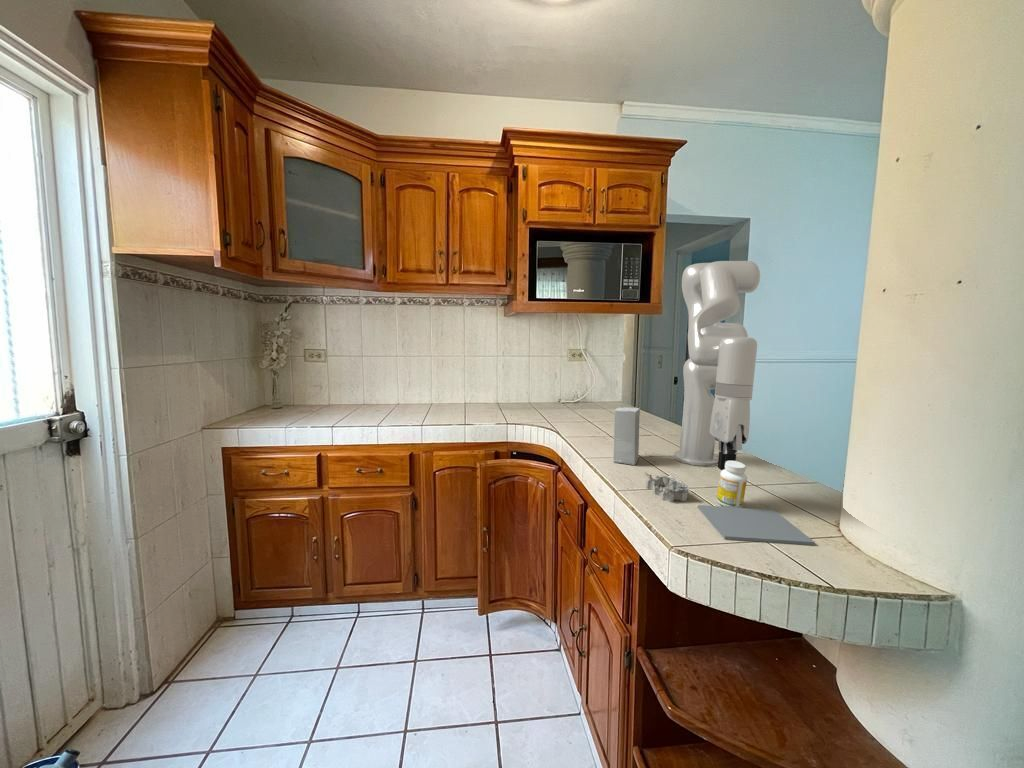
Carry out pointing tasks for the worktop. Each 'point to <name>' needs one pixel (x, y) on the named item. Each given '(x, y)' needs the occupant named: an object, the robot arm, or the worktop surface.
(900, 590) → the worktop surface
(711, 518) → the mat
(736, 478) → the supplement bottle
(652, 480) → the egg carton
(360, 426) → the worktop surface
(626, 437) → the skincare box
